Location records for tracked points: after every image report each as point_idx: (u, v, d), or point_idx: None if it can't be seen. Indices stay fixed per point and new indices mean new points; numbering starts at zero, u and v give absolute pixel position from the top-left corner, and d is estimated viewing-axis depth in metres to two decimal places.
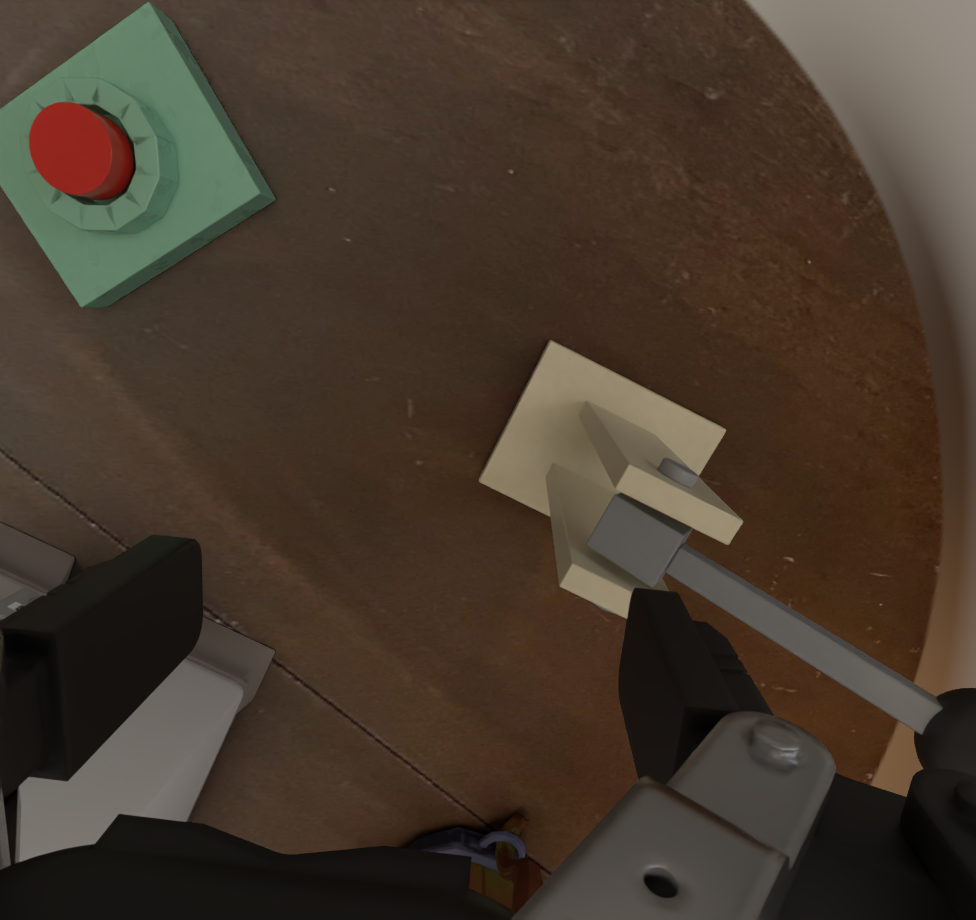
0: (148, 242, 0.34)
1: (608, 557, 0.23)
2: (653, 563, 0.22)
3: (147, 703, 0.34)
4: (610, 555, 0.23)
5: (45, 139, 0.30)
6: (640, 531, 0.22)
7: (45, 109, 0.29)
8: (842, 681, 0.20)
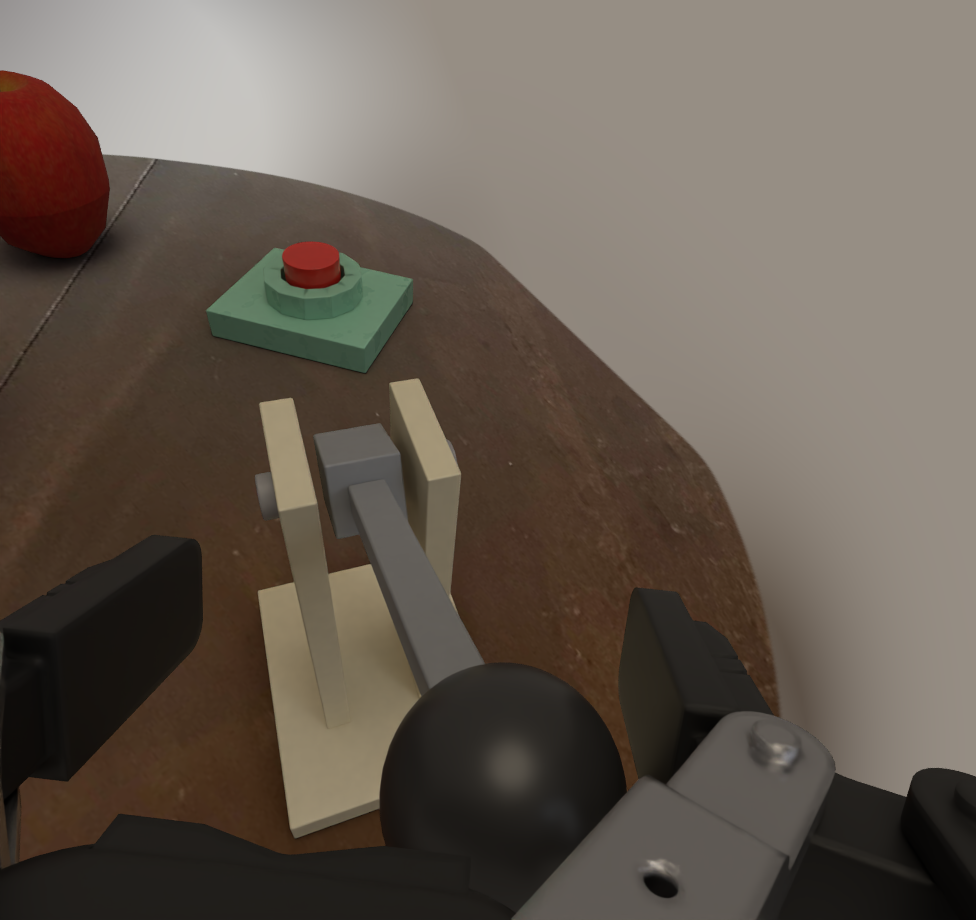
0: (281, 320, 0.45)
1: (319, 443, 0.19)
2: (350, 455, 0.18)
3: None
4: (322, 442, 0.19)
5: (306, 246, 0.46)
6: (368, 440, 0.19)
7: (322, 243, 0.47)
8: (403, 610, 0.13)
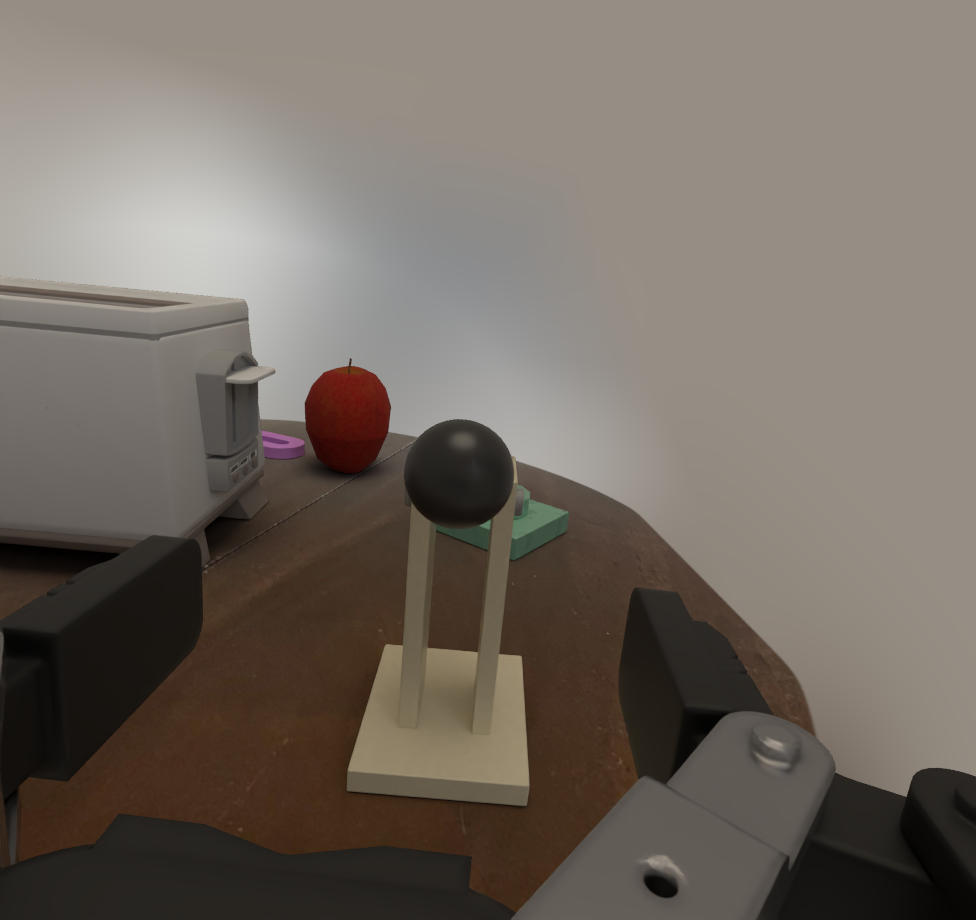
0: None
1: None
2: None
3: (195, 474, 0.50)
4: None
5: None
6: None
7: None
8: None
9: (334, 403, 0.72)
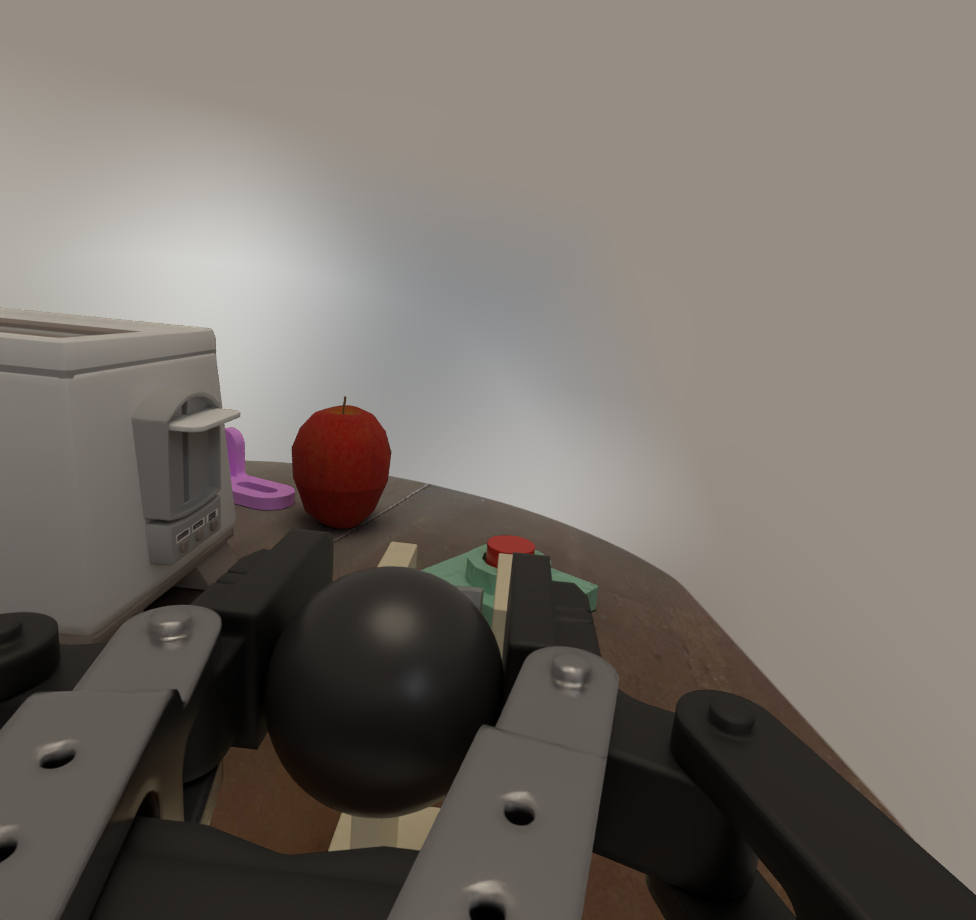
0: None
1: None
2: None
3: (126, 545, 0.39)
4: None
5: (510, 538, 0.54)
6: (464, 587, 0.22)
7: None
8: None
9: (323, 448, 0.61)
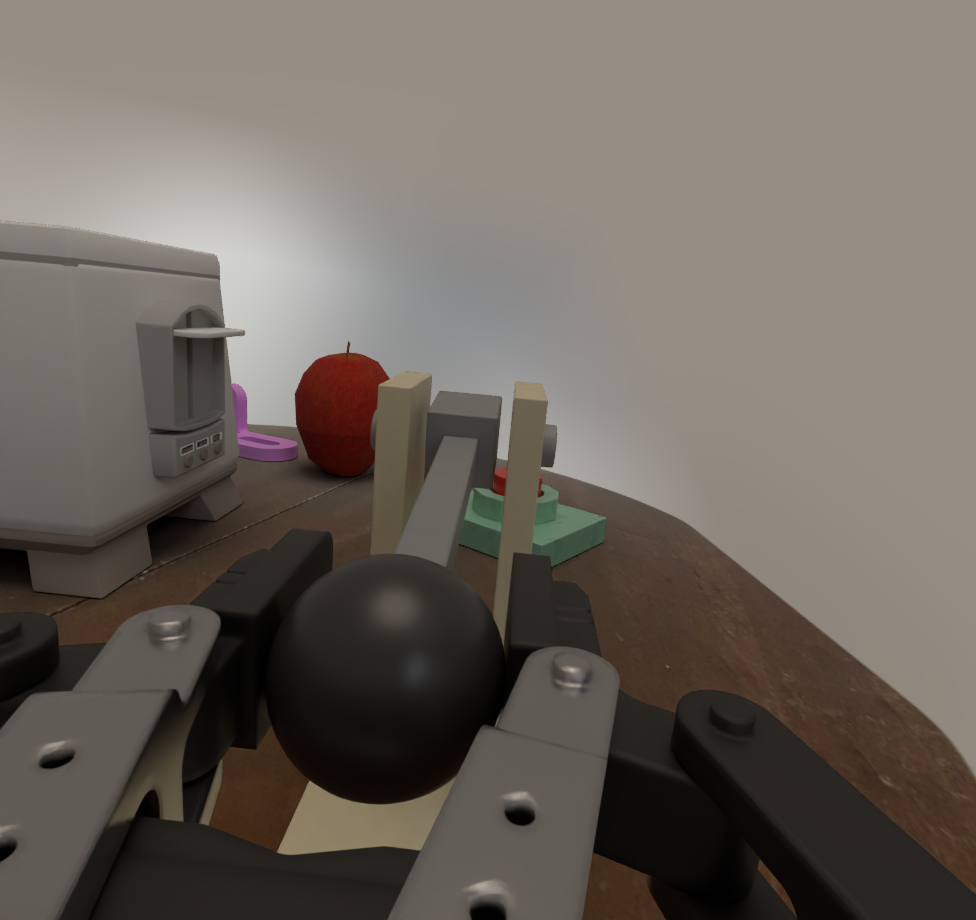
0: (477, 518, 0.50)
1: (438, 396, 0.21)
2: (454, 409, 0.20)
3: (130, 451, 0.39)
4: (441, 397, 0.21)
5: None
6: (479, 404, 0.21)
7: None
8: (410, 523, 0.14)
9: (326, 390, 0.61)
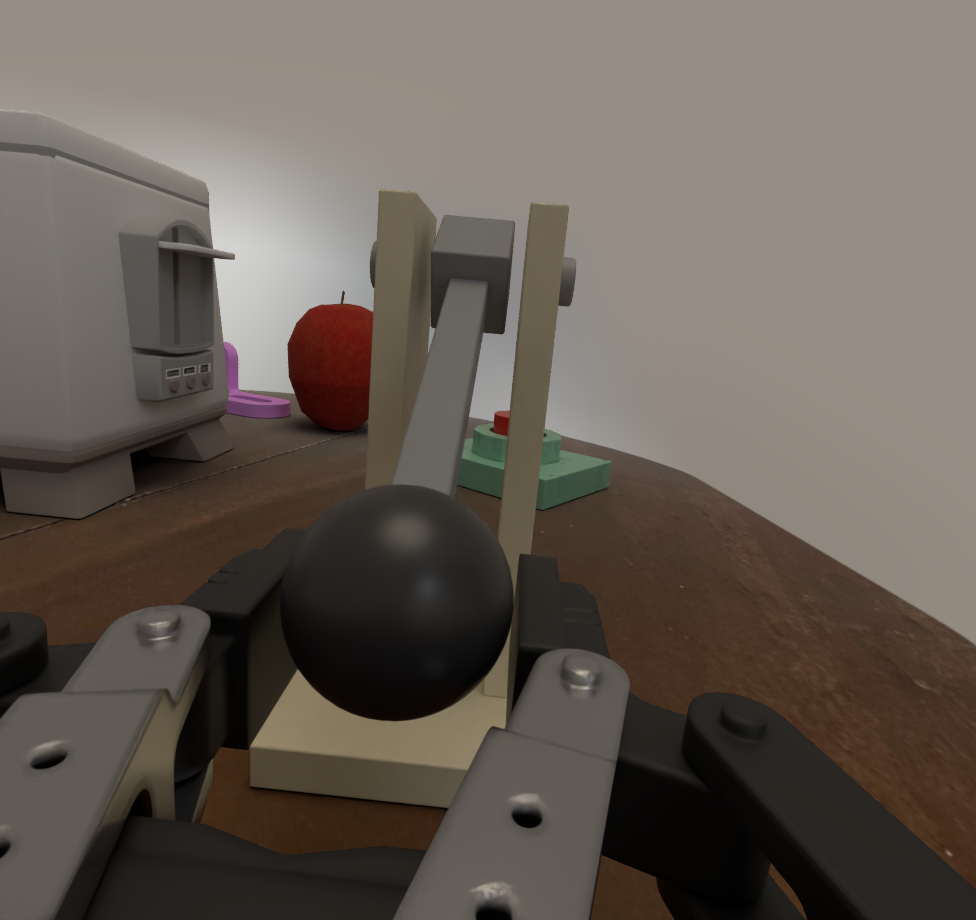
0: (478, 458, 0.48)
1: (442, 225, 0.19)
2: (461, 247, 0.18)
3: (112, 367, 0.37)
4: (446, 225, 0.19)
5: None
6: (490, 236, 0.18)
7: None
8: (416, 413, 0.13)
9: (320, 338, 0.59)
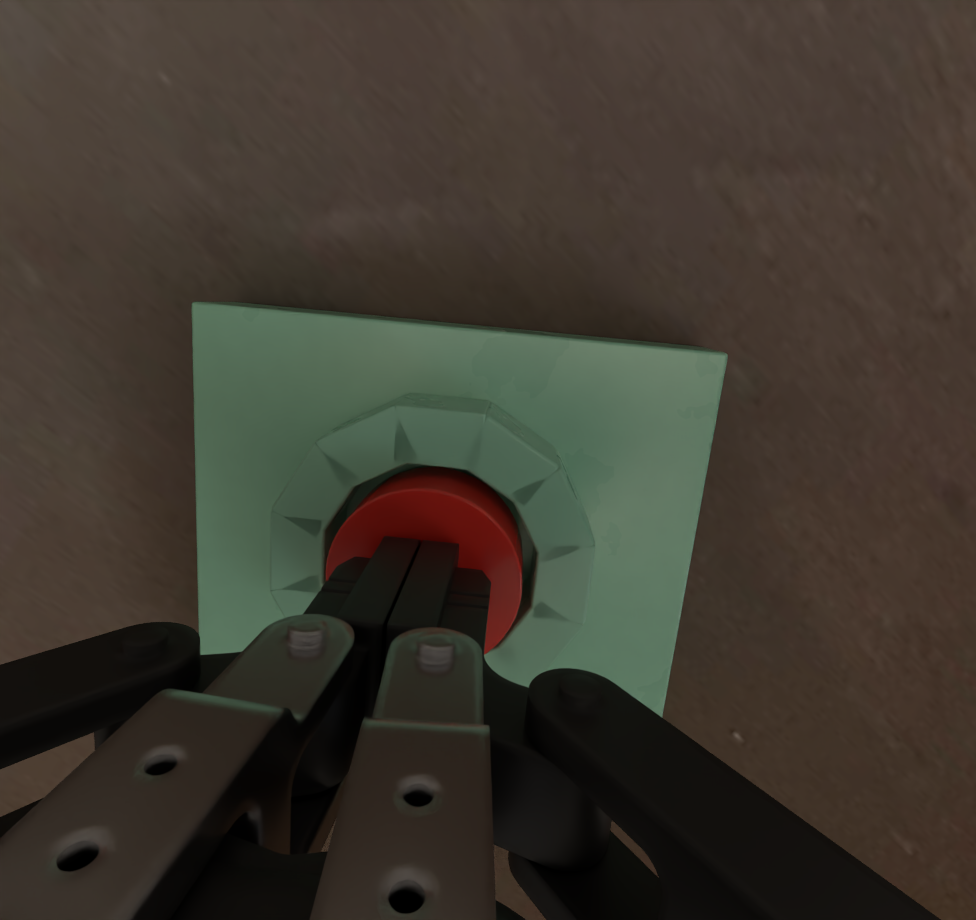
0: None
1: None
2: None
3: None
4: None
5: None
6: None
7: (430, 494, 0.12)
8: None
9: None
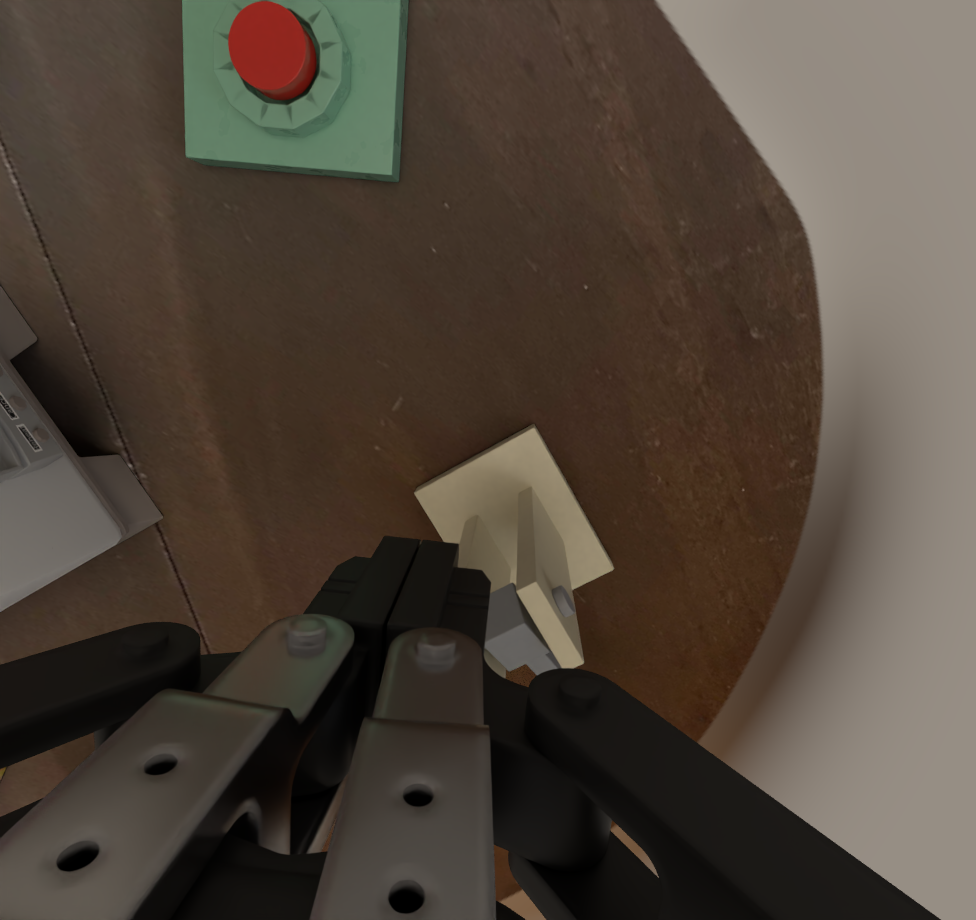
0: (277, 148, 0.36)
1: (492, 653, 0.28)
2: (520, 661, 0.29)
3: (40, 507, 0.36)
4: (494, 653, 0.28)
5: (251, 24, 0.32)
6: (525, 645, 0.28)
7: (267, 2, 0.31)
8: None
9: None
